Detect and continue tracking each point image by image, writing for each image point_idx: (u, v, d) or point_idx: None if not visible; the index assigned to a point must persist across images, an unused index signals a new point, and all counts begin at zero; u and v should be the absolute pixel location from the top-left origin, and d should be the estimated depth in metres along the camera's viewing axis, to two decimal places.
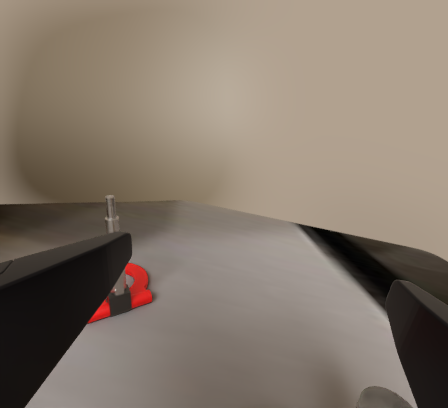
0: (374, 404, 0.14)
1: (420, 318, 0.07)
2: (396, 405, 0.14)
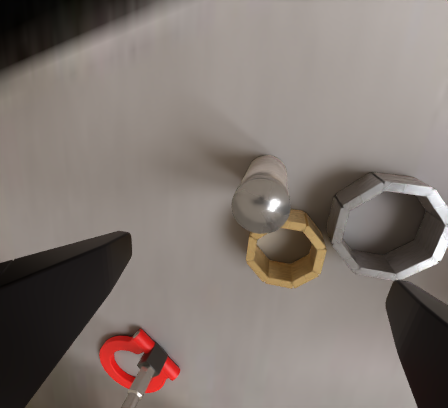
0: (251, 218, 0.14)
1: (420, 318, 0.07)
2: (249, 197, 0.14)
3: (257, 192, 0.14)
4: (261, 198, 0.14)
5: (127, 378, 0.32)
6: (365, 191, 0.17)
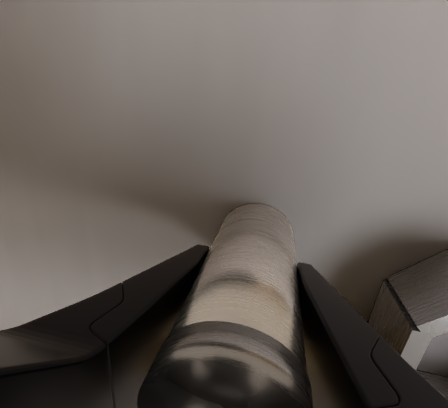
0: None
1: (302, 295, 0.07)
2: (185, 399, 0.04)
3: (209, 393, 0.04)
4: None
5: None
6: None
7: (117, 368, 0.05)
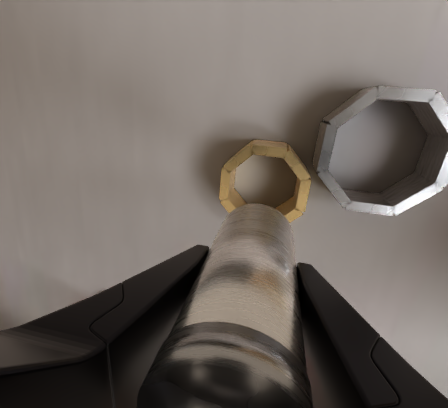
0: None
1: (302, 295, 0.07)
2: (185, 400, 0.04)
3: (209, 393, 0.04)
4: None
5: None
6: (355, 101, 0.14)
7: (117, 368, 0.05)
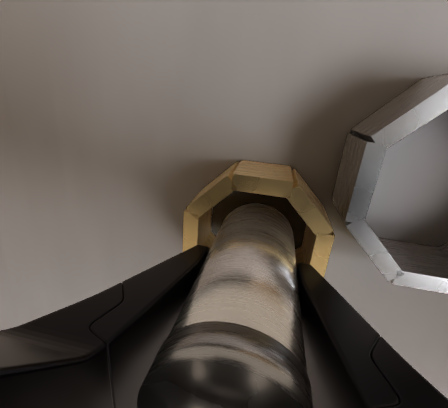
0: None
1: (302, 295, 0.07)
2: (185, 400, 0.04)
3: (209, 393, 0.04)
4: None
5: None
6: (424, 99, 0.07)
7: (117, 368, 0.05)
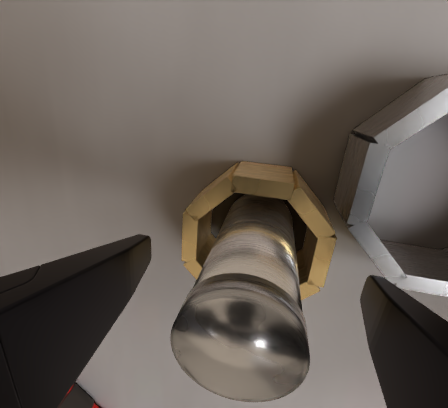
0: (216, 370, 0.06)
1: (388, 312, 0.07)
2: (209, 330, 0.06)
3: (228, 323, 0.06)
4: (237, 335, 0.06)
5: None
6: (429, 99, 0.07)
7: (11, 340, 0.05)
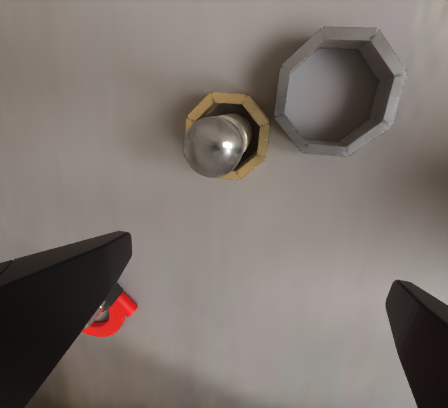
0: (203, 161, 0.14)
1: (420, 318, 0.07)
2: (199, 137, 0.14)
3: (207, 131, 0.13)
4: (211, 138, 0.13)
5: None
6: None
7: None
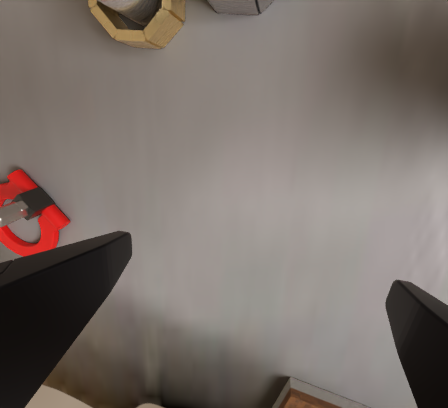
0: None
1: (420, 318, 0.07)
2: None
3: None
4: None
5: (19, 242, 0.28)
6: None
7: None
